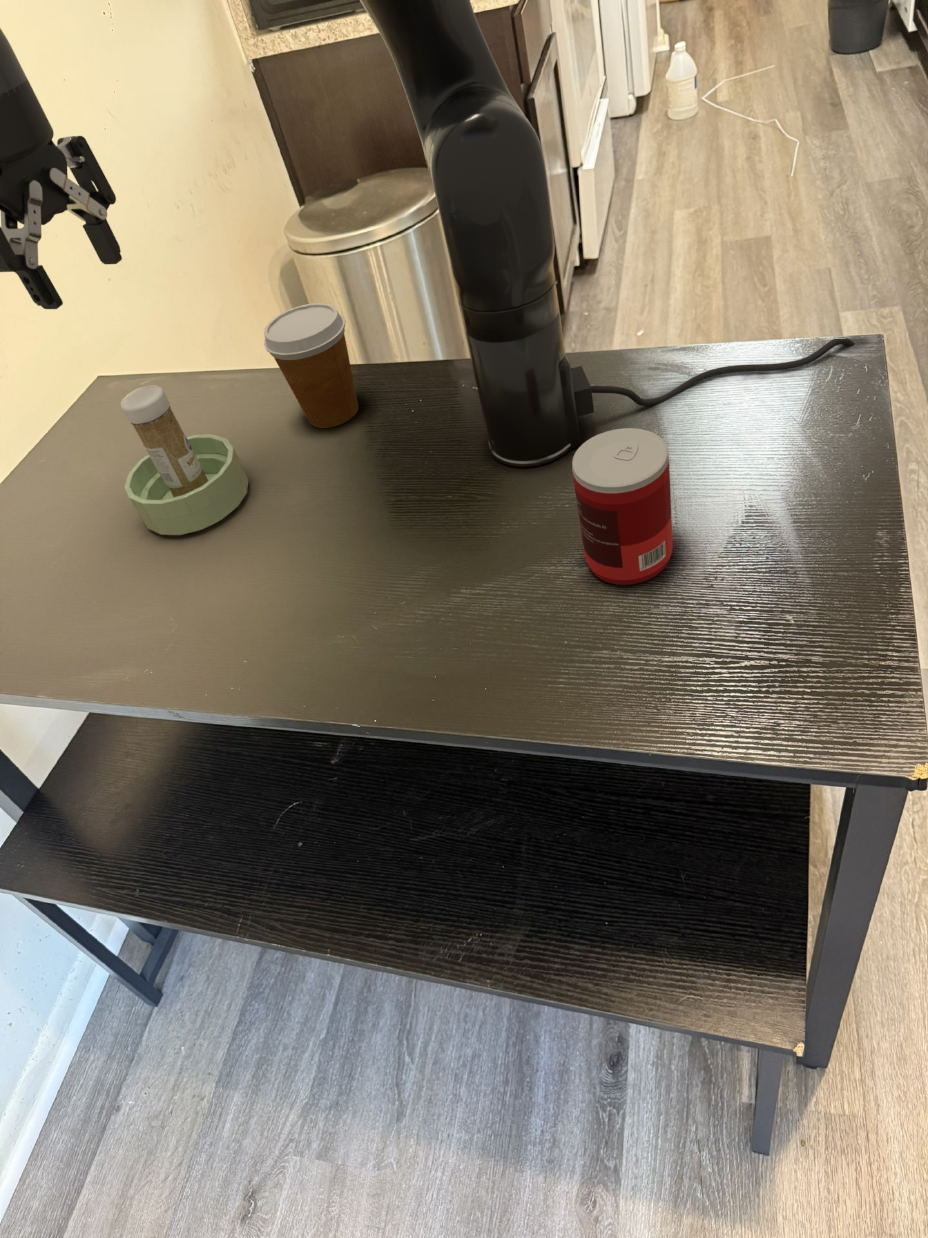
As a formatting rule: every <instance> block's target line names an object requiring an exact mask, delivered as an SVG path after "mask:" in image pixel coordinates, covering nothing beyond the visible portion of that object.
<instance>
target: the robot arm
mask: <svg viewBox="0 0 928 1238" xmlns="http://www.w3.org/2000/svg"><path fill="white" fill-rule="evenodd" d="M359 2H360V4H361V5H362V7H363V9H364V10H365V11H366V13H367V15H368V17H369V18H370V20H371V21H372V23H373V24H374V26H375V28H376V30H377V32H378V33H379V34H380V37H381V39H382V40H383V43H384V44H385V46H386V47H387V51H388V52H389V54H390V56H391V60H392V61H393V64H394V66H395V68H396V71H397V73H398V76H399V79H400V82H401V85H402V87H403V90H404V93H405V96H406V99H407V101H408V104H409V108H410V111H411V113H412V117H413V120H414V123H415V126H416V129H417V132H418V137H419V139H420V143H421V146H422V151H423V155H424V159H425V163H426V167H427V170H428V173H429V176H430V179H431V182H432V187H433V192H434V196H435V201H436V205H437V208H438V213H439V217H440V222H441V227H442V231H443V236H444V240H445V244H446V249H447V253H448V257H449V264H450V269H451V277H452V281H453V286H454V289H455V294H456V298H457V303H458V307H459V312H460V316H461V321H462V325H463V330H464V335H465V340H466V343H467V348H468V353H469V358H470V362H471V367H472V371H473V376H474V380H475V384H476V389H477V393H478V398H479V403H480V407H481V411H482V417H483V421H484V425H485V429H486V437H487V440H488V447H489V451H490V454H491V455H492V457H493V458H494V459H495V460H496V461H498V462H500V463H501V464H504V465H506V466H509V467H510V466H511V467H518V468H528V467H530V468H531V467H537V466H542V465H545V464H549V463H551V462H553V461H556V460H557V459H559V458H562V457H563V456H564V455H565V454H567V453H568V452H569V451H570V450H572V449H575V448H579V447H580V446H581V445H582V442H581V433H580V428H579V419H578V418H579V417H582V416H587V415H590V414H595V408H594V407H595V406H594V397H593V394H614V395H615V394H616V395H621V396H625V397H627V398H629V399H630V400H631V401H632V402H634V403H635V404H636V405H638V406H640V407H641V406H642V407H653V406H657V405H660V404H662V403H664V402H666V401H668V400H670V399H672V398H673V397H675V396H677V395H680V394H681V393H682V392H684V391H685V390H688V389H689V388H691V387H693V386H694V385H696V384H698V383H700V382H702V381H704V380H707V379H710V378H712V377H717V376H720V375H726V374H734V373H746V372H747V373H751V372H752V373H753V372H775V371H785V370H790V369H796V368H800V367H803V366H807V365H809V364H811V363H813V362H815V361H816V360H818V359H820V358H821V357H822V356H824V355H825V354H826V353H827V352H829V351H830V350H831V349H833V348H835V347H836V346H841V345H842V346H844V347H847V348H850V347H853V346H855V344H856V343H855V342H854V341H853V340H852V339H850V338H849V337H843V336H842V337H841V336H840V338H846V339H835V338H833V339H831V340H830V341H828V342H827V343H825V344H824V345H823V346H821V347H820V348H819V349H817V350H816V351H814V352H813V353H811V354H810V355H807V356H806V357H803V358H800V359H796V360H791V361H786V362H776V363H755V364H735V365H727V366H721V367H720V366H719V367H716V368H712V369H709V370H706V371H703V372H700V373H698V374H697V375H694V376H693V377H691V378H689V379H687V380H686V381H684V382H683V383H681V384H680V385H678V386H676V387H675V388H673V389H672V390H670V391H668V392H667V393H664V394H663V395H660V396H658V397H653V398H642V397H641V396H639V395H638V394H637V393H636V392H635V391H634V390H632V389H629V388H625V387H622V386H615V385H614V386H613V385H591V383H590V381H589V379H588V377H587V375H586V373H585V370H584V368H583V366H582V365H579V366H575V367H571V364H570V361H569V358H568V356H567V353H566V349H565V341H564V334H563V327H562V320H561V312H560V304H559V298H558V289H557V283H556V275H555V267H554V266H555V265H554V259H555V258H554V257H555V236H554V228H553V219H552V209H551V203H550V202H551V201H550V194H549V193H550V191H549V184H548V177H547V170H546V163H545V157H544V152H543V149H542V148H543V147H542V144H541V140H540V139H539V135H538V134H537V132H536V130H535V128H534V127H533V125H532V124H531V122H530V121H529V119H528V118H527V117H526V115H525V114H524V112H523V111H522V109H521V107H520V105H519V104H518V103H517V102H516V100H515V98H514V97H513V95H512V93H511V90H510V89H509V88H508V85H507V83H506V81H505V80H504V78H503V76H502V74H501V71H500V69H499V67H498V65H497V63H496V61H495V59H494V57H493V54H492V52H491V49H490V47H489V45H488V43H487V41H486V39H485V35H484V33H483V31H482V29H481V27H480V24H479V22H478V19H477V17H476V14H475V12H474V9H473V5H472V2H471V0H359ZM54 135H55V134H54V128H53V126H52V125H51V123H50V121H49V119H48V117H47V115H46V113H45V111H44V109H43V107H42V105H41V103H40V100H39V99H38V97H37V94H36V93H35V91H34V89H33V87H32V85H31V83H30V81H29V78H28V77H27V75H26V73H25V71H24V69H23V67H22V65H21V63H20V61H19V59H18V57H17V55H16V53H15V50H14V49H13V47H12V45H11V43H10V41H9V40H8V38H7V36H6V35H5V33H4V32H3V30H2V28H1V27H0V273H14V274H16V275H17V276H18V279H20V281H21V283H22V285H23V287H24V288H25V290H26V292H27V293H28V295H29V296H30V298H31V300H32V301H33V303H34V304H36V306H38V307H41V308H42V309H44V310H58V309H59V308H61V306H63V304H64V301H63V299H62V298H61V296H60V294H59V292H58V290H57V289H56V287H55V285H54V284H53V282H52V280H51V278H50V277H49V275H48V273H47V271H46V270H45V268H44V266H43V264H39V242H40V241H41V239H42V226H45V225H46V224H48V223H49V222H51V221H52V220H53V218H54V217H55V216H56V215H59V214H63V213H65V212H66V211H67V212H69V213H70V214H72V215H74V216H76V217H77V218H78V219H79V220H81V221H83V222H85V223H84V224H83V225H82V228H83V230H84V232H85V234H86V236H87V238H88V239H89V242H90V244H91V245H92V247H93V250H94V251H95V253H96V255H97V258H98V259H99V261H100V262H101V263H102V264H104V265H117V264H119V263H120V262H121V261H122V260H123V256H122V254H121V252H122V251H121V246H120V243H119V242H118V240H117V238H116V236H115V233H114V232H113V230H112V228H111V226H110V223H109V222H108V220H107V218H108V210H109V208H110V206H111V205H114V204H116V202H117V197H116V194H115V192H114V190H113V188H112V186H111V184H110V182H109V180H108V178H107V177H106V175H105V173H104V171H103V169H102V168H101V164H100V163H99V162H98V160H97V158H96V155H95V154H94V152H93V151H92V148H91V147H90V145H89V142H88V140H87V139H86V138H85V136H83V135H71V136H64V137H60V138H58V139H57V141H56V144H55V142H54V141H53V138H54ZM68 168H69V170H70V172H71V174H72V175H73V177H74V179H75V181H76V183H75V182H74V181H73V180H71V179H70V178H69V177H68ZM18 224H21V225H23V226H22V227H19V225H18Z"/></svg>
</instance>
